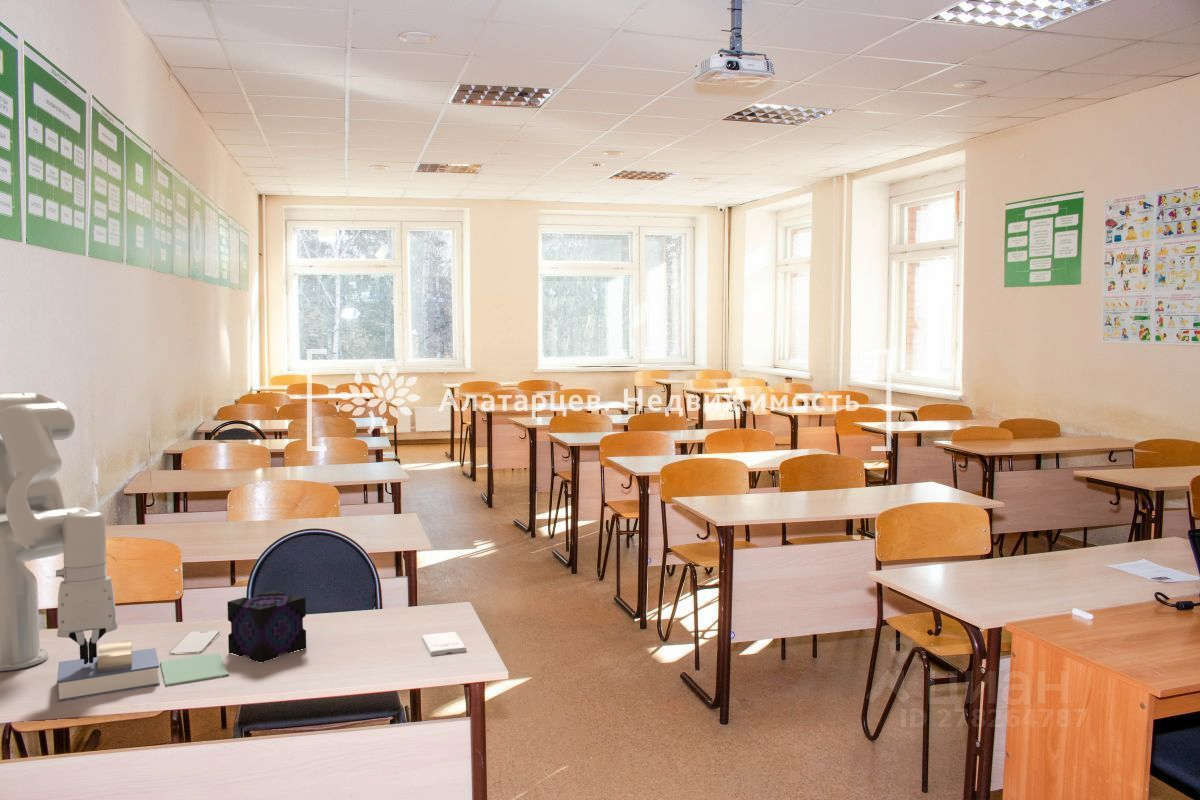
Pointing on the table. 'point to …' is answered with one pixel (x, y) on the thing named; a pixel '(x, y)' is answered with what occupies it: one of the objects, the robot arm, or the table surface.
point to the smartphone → (194, 642)
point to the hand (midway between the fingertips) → (88, 661)
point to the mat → (193, 669)
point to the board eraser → (115, 656)
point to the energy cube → (266, 625)
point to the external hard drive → (443, 643)
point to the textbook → (106, 676)
